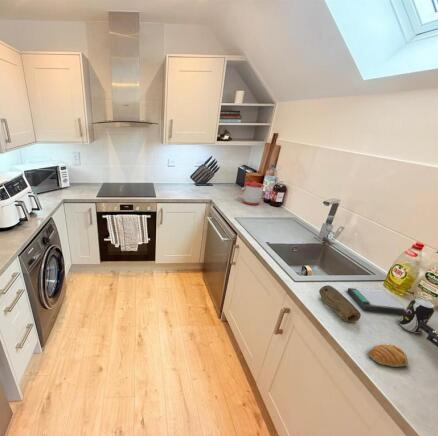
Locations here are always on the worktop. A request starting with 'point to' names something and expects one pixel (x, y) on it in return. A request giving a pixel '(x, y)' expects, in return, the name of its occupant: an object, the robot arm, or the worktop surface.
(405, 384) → the worktop surface
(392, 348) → the pastry
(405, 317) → the beverage can
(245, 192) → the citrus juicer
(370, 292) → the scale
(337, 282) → the worktop surface
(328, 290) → the brown rough cylinder
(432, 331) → the robot arm
